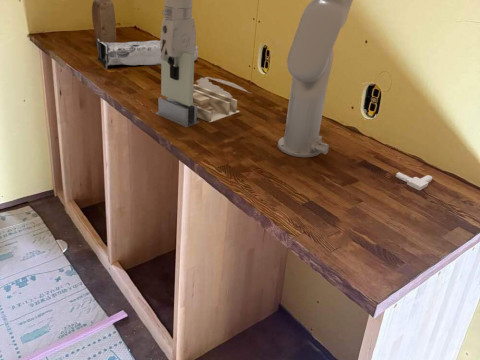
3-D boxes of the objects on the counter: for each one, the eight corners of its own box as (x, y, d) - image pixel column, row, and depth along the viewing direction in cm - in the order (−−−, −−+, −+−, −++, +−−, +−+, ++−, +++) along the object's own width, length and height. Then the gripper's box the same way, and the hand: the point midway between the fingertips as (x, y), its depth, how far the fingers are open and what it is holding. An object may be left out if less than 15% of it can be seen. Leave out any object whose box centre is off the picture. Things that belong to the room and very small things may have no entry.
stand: (200, 126, 145) (201, 106, 142) (186, 131, 141) (186, 111, 138) (169, 112, 153) (169, 93, 149) (154, 117, 148) (154, 97, 145)
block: (118, 48, 214) (115, 1, 204) (102, 50, 210) (98, 2, 200) (107, 42, 221) (105, -4, 211) (92, 44, 217) (88, -3, 207)
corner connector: (408, 170, 130) (410, 165, 130) (435, 183, 125) (437, 178, 125) (392, 179, 126) (393, 173, 125) (419, 192, 121) (420, 186, 120)
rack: (239, 115, 155) (240, 99, 152) (209, 126, 145) (210, 109, 143) (196, 98, 166) (196, 83, 163) (165, 107, 156) (165, 91, 153)
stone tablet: (226, 112, 158) (227, 105, 157) (186, 84, 179) (187, 77, 178) (267, 106, 166) (268, 99, 165) (224, 79, 188) (225, 73, 186)
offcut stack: (212, 112, 152) (213, 98, 149) (201, 116, 148) (202, 102, 146) (190, 103, 157) (190, 90, 155) (179, 106, 154) (179, 93, 151)
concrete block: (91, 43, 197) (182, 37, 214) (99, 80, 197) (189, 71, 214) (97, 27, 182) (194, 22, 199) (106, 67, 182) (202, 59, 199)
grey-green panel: (192, 105, 141) (194, 54, 133) (188, 106, 140) (190, 55, 132) (165, 93, 147) (165, 44, 140) (161, 94, 146) (161, 45, 139)
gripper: (165, 18, 123) (165, 87, 133) (207, 13, 134) (204, 76, 143) (146, 12, 128) (147, 79, 137) (189, 8, 138) (187, 70, 147)
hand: (177, 77), depth 140 cm, fingers closed on grey-green panel, 1 cm apart
